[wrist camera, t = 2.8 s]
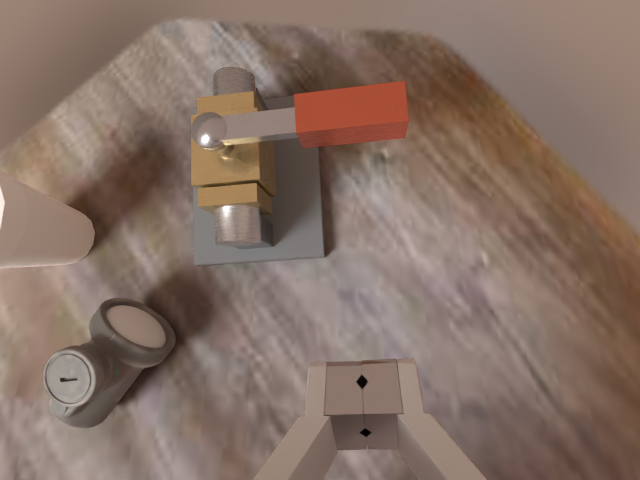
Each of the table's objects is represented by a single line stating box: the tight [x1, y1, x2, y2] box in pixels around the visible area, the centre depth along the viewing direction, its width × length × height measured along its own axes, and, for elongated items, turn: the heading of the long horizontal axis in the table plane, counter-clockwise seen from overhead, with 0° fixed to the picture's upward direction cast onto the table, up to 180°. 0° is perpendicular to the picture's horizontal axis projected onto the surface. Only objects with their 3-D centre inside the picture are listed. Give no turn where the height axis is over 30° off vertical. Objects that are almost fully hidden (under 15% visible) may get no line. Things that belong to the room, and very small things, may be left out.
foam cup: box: [0, 171, 95, 268], centre depth 40 cm, size 10×9×13 cm
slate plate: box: [193, 96, 325, 266], centre depth 43 cm, size 14×18×2 cm
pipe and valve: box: [191, 67, 277, 249], centre depth 37 cm, size 6×16×11 cm, turn 3°
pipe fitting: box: [43, 298, 176, 428], centre depth 38 cm, size 12×8×10 cm, turn 139°
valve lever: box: [191, 81, 409, 152], centre depth 30 cm, size 16×3×3 cm, turn 93°
